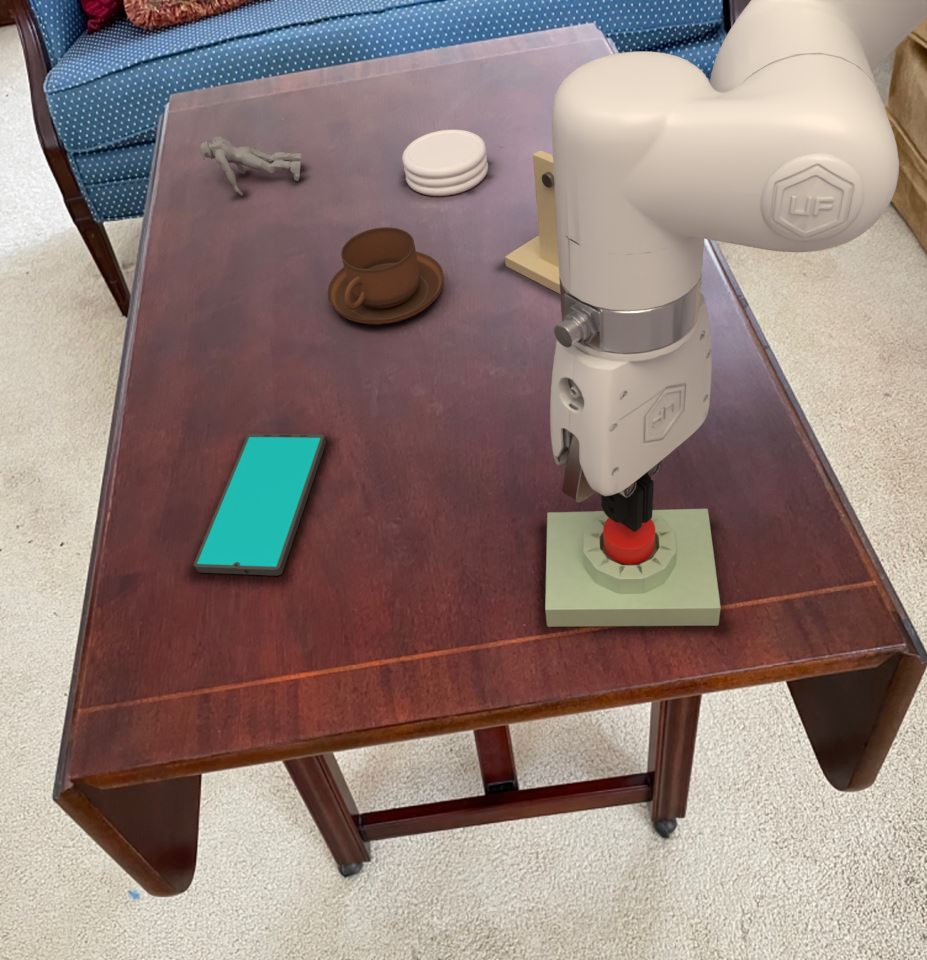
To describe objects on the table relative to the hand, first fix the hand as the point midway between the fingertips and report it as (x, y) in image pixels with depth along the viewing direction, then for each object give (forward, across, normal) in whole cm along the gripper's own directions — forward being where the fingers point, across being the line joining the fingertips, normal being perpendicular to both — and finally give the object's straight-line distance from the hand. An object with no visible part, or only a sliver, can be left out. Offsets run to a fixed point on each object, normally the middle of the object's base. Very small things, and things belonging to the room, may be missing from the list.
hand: (626, 514), depth 65 cm
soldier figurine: (+8, +15, +74) cm, 76 cm away
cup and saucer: (+7, +10, +41) cm, 43 cm away
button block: (+7, 0, 0) cm, 7 cm away
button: (+3, 0, 0) cm, 3 cm away
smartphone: (+7, -15, +27) cm, 32 cm away
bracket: (+7, +26, +30) cm, 41 cm away
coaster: (+7, +30, +55) cm, 63 cm away
